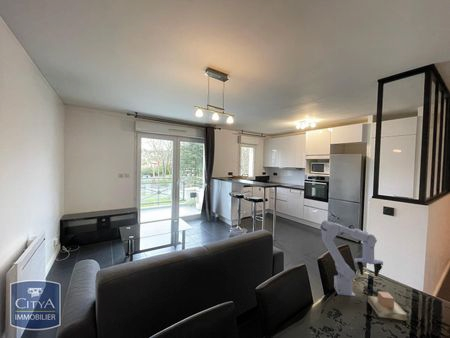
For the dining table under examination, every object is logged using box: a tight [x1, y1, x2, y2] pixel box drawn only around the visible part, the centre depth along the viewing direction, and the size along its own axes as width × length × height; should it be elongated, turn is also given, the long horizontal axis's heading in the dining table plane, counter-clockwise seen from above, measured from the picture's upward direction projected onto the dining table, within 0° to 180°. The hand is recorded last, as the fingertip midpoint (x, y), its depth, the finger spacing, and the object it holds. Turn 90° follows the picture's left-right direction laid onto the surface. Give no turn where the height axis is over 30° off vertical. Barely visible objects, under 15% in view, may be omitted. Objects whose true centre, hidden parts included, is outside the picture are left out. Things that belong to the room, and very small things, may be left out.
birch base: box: [367, 295, 408, 321], centre depth 103 cm, size 12×12×3 cm
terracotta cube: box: [377, 291, 395, 308], centre depth 103 cm, size 5×5×5 cm
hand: (368, 275), depth 120 cm, fingers open, 7 cm apart
